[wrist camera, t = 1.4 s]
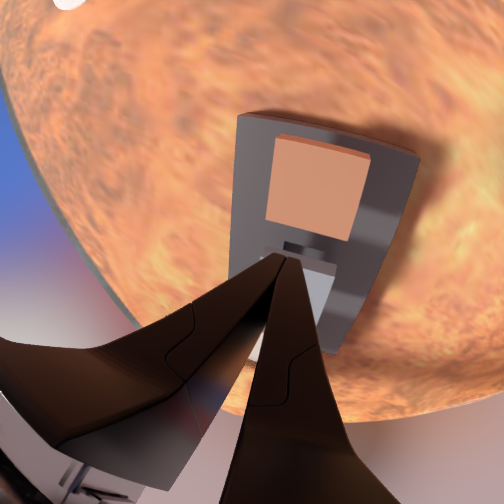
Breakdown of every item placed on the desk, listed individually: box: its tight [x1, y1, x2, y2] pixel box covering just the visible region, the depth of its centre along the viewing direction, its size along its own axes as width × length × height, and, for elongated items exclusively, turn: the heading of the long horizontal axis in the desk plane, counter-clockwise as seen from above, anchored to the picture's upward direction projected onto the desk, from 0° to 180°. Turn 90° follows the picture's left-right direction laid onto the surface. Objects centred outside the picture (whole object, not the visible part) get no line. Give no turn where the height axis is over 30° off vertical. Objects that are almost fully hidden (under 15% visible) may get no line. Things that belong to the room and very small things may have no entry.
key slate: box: [260, 245, 337, 325], centre depth 18 cm, size 4×4×2 cm
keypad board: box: [228, 113, 420, 355], centre depth 20 cm, size 19×11×2 cm, turn 175°
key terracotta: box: [265, 134, 371, 241], centre depth 14 cm, size 4×4×2 cm
